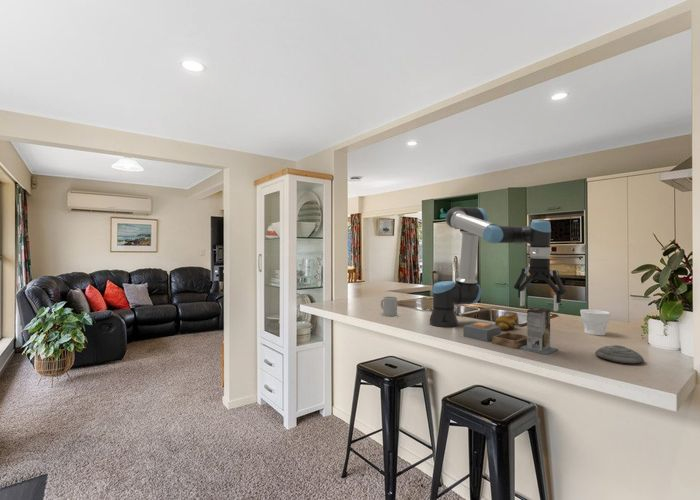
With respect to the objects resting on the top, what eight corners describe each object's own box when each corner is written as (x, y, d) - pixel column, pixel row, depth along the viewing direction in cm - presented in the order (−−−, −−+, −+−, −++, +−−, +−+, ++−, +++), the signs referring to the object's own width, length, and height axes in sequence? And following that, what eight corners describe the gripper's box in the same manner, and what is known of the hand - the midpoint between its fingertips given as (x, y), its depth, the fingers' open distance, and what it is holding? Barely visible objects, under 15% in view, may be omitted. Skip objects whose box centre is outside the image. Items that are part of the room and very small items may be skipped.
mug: (399, 315, 222) (400, 297, 222) (390, 317, 216) (390, 298, 216) (385, 312, 231) (385, 295, 231) (376, 314, 225) (376, 296, 225)
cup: (575, 329, 186) (576, 308, 186) (602, 331, 183) (602, 309, 183) (586, 335, 174) (586, 313, 173) (615, 337, 171) (615, 314, 171)
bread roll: (508, 332, 180) (508, 316, 180) (489, 328, 187) (489, 313, 187) (519, 328, 188) (519, 313, 188) (501, 325, 196) (501, 310, 196)
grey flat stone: (591, 352, 147) (591, 338, 147) (635, 356, 142) (636, 342, 142) (600, 363, 134) (600, 348, 134) (650, 368, 128) (650, 353, 128)
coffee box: (534, 344, 156) (534, 307, 156) (550, 347, 151) (551, 309, 151) (526, 348, 150) (526, 309, 149) (542, 351, 145) (543, 311, 145)
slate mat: (519, 348, 151) (519, 347, 151) (531, 344, 158) (531, 342, 158) (546, 354, 142) (546, 353, 142) (558, 349, 149) (558, 348, 149)
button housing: (463, 336, 171) (463, 325, 171) (477, 332, 179) (477, 322, 179) (486, 341, 162) (487, 330, 162) (500, 337, 170) (500, 326, 169)
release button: (472, 333, 171) (472, 323, 171) (479, 332, 175) (479, 321, 175) (484, 336, 166) (484, 325, 166) (491, 334, 170) (491, 324, 170)
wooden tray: (491, 343, 159) (492, 336, 159) (507, 338, 168) (507, 331, 168) (516, 348, 150) (516, 341, 150) (531, 343, 159) (531, 336, 159)
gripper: (506, 256, 157) (505, 304, 158) (569, 259, 138) (567, 314, 138) (514, 256, 162) (513, 303, 162) (576, 258, 142) (575, 311, 143)
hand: (538, 308), depth 150 cm, fingers open, 13 cm apart
